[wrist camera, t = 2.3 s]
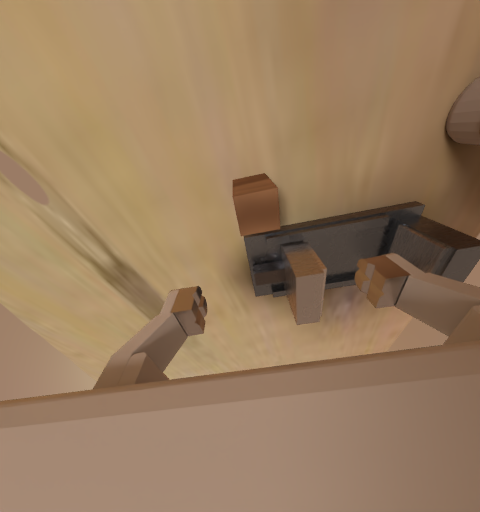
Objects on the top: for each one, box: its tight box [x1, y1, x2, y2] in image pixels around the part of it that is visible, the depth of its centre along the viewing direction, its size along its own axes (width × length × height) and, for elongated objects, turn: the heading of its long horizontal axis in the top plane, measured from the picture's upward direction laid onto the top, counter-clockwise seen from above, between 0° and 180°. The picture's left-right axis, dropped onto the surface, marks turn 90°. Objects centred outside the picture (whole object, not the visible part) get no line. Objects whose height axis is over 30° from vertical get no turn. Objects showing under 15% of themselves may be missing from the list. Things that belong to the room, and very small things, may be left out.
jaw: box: [253, 240, 327, 325], centre depth 24 cm, size 9×8×7 cm
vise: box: [244, 201, 480, 297], centre depth 25 cm, size 12×24×9 cm, turn 101°
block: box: [233, 173, 280, 236], centre depth 20 cm, size 4×4×8 cm
